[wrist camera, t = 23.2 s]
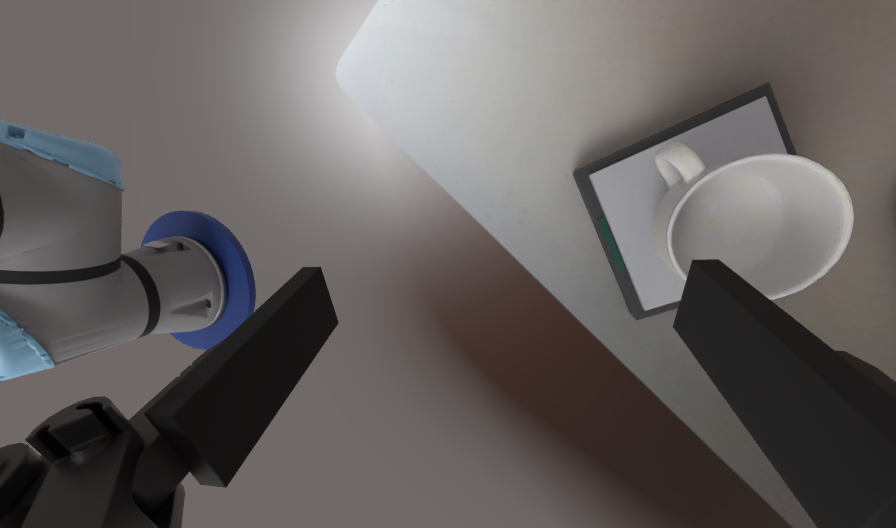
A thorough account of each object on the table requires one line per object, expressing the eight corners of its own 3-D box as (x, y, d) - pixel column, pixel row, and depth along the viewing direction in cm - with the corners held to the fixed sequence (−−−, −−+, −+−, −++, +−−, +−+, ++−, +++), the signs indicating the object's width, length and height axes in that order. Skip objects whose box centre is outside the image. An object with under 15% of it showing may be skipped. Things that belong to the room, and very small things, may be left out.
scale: (630, 313, 37) (638, 323, 34) (572, 173, 36) (575, 170, 33) (813, 256, 32) (844, 261, 28) (751, 91, 31) (776, 78, 28)
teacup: (796, 246, 29) (888, 260, 21) (671, 300, 32) (712, 328, 25) (719, 111, 29) (784, 76, 21) (601, 179, 32) (621, 170, 25)
